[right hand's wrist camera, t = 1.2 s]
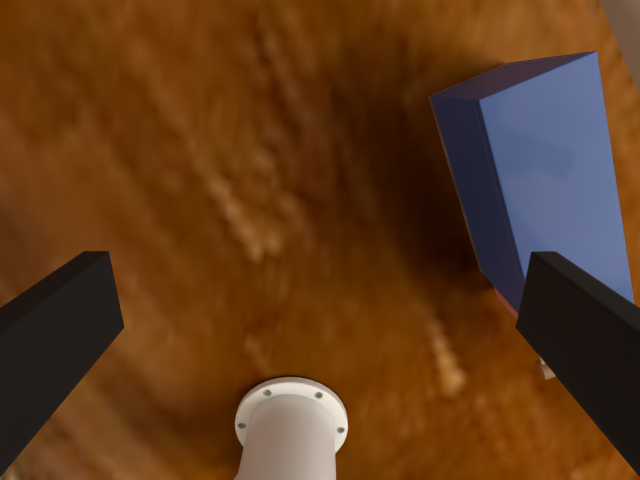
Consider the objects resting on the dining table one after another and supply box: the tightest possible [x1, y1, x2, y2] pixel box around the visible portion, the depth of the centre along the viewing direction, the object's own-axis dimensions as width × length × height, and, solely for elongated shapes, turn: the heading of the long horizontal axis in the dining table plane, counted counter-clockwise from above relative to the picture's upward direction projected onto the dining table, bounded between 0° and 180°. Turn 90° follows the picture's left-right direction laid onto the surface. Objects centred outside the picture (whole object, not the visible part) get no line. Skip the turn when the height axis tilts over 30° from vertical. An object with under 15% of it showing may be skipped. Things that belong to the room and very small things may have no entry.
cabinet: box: [428, 51, 634, 314], centre depth 30 cm, size 17×7×11 cm, turn 23°
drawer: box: [494, 287, 556, 380], centre depth 32 cm, size 22×5×9 cm, turn 23°
